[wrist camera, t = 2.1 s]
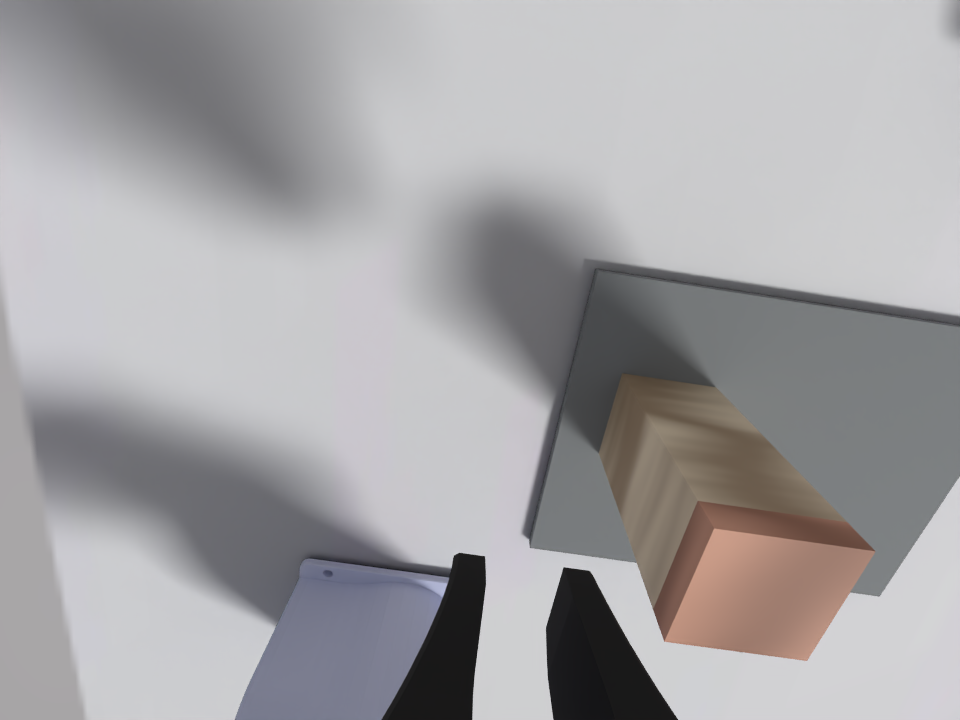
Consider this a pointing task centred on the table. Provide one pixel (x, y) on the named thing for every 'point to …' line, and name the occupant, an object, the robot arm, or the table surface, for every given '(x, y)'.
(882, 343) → the rubber mat
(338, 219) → the table surface
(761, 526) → the maple block
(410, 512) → the table surface
